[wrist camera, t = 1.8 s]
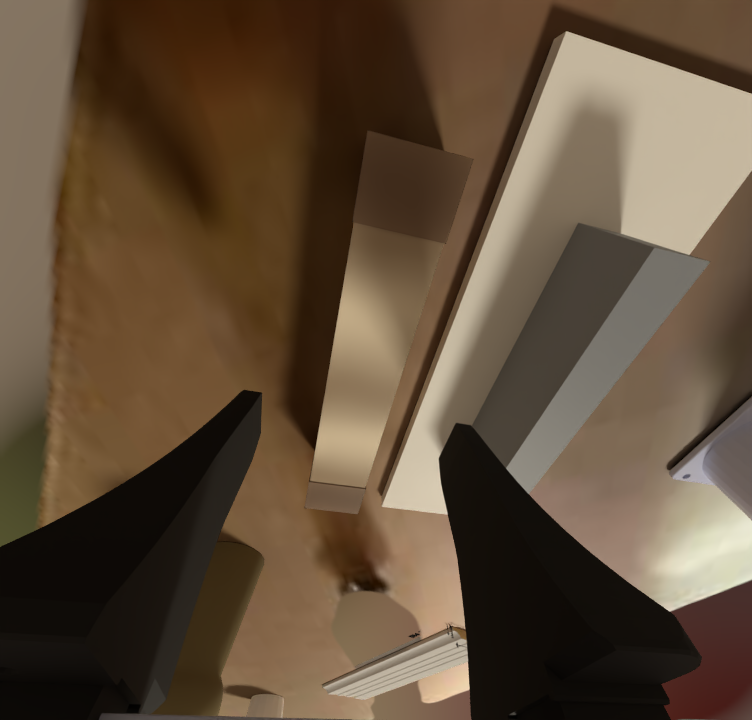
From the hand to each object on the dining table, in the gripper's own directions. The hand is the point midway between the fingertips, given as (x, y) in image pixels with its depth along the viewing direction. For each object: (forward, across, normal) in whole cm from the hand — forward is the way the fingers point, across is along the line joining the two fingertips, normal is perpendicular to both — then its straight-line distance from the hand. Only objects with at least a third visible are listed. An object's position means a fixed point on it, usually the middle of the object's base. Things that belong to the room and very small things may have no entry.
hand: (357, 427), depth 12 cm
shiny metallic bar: (+6, 0, 0) cm, 6 cm away
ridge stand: (+6, -9, 0) cm, 11 cm away
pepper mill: (+6, +7, +25) cm, 27 cm away
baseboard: (+7, -16, +52) cm, 55 cm away
